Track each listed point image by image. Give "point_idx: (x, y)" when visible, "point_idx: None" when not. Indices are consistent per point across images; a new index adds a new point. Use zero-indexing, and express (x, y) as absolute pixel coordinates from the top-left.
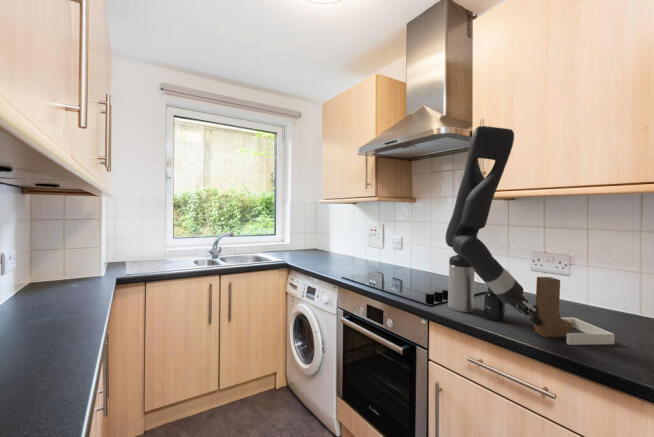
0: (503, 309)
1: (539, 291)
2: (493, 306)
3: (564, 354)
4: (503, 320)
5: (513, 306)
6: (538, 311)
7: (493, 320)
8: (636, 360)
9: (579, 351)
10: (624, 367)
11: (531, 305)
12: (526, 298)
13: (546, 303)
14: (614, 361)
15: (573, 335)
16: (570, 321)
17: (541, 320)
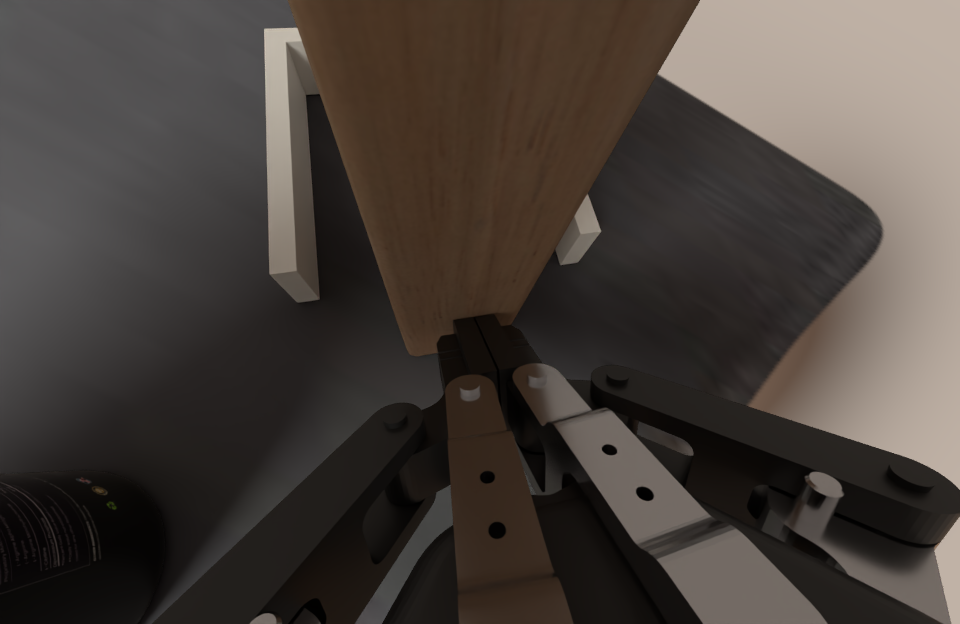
0: (61, 538)
1: (456, 74)
2: None
3: (722, 362)
4: (152, 501)
5: (357, 602)
6: (721, 402)
7: (140, 616)
8: (669, 107)
9: (652, 263)
10: (760, 190)
11: (630, 434)
12: (802, 597)
13: (584, 198)
14: (714, 188)
15: (592, 213)
16: (294, 75)
17: (495, 319)
